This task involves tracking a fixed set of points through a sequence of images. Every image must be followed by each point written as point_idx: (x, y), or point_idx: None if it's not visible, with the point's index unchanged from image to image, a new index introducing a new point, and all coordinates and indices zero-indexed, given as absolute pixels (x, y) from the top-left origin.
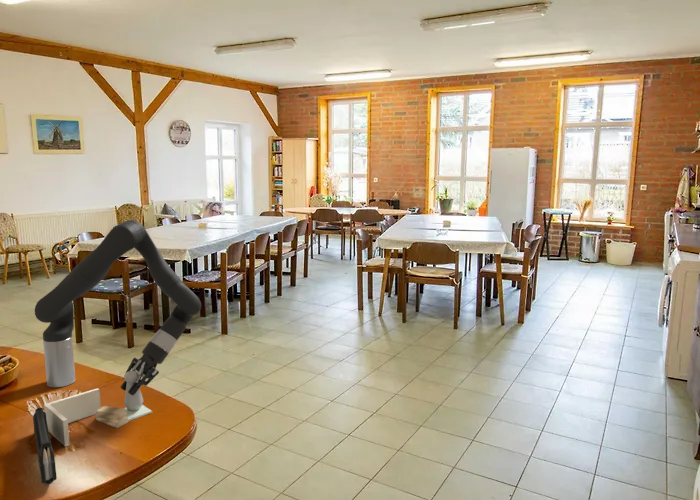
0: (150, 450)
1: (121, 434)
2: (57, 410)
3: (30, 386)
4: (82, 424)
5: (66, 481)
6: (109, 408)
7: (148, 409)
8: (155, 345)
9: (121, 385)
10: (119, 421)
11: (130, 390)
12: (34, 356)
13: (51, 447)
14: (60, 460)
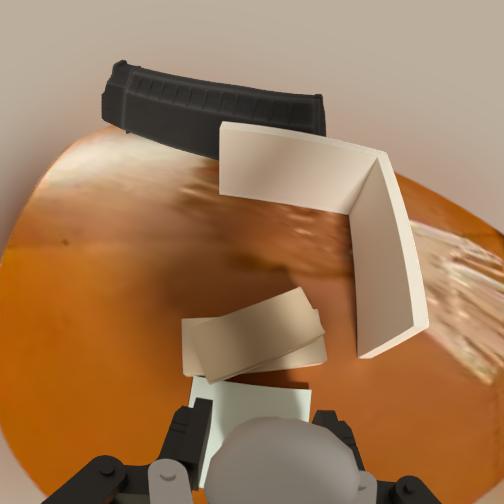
0: (12, 285)
1: (132, 303)
2: (370, 193)
3: None
4: (314, 272)
5: (105, 145)
6: (277, 334)
7: (203, 484)
8: None
9: (336, 417)
10: (183, 331)
11: (193, 409)
12: None
13: (130, 87)
14: (174, 160)
